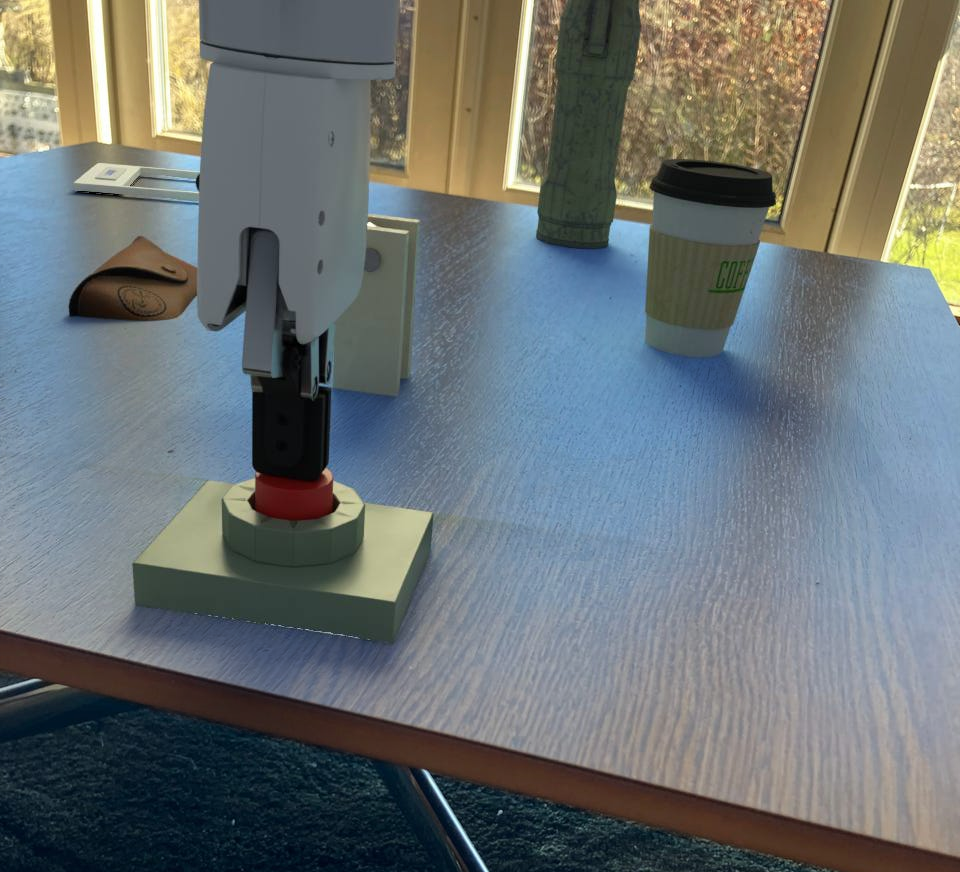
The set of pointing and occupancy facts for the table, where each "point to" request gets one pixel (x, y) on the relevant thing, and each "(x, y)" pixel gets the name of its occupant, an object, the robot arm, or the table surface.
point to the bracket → (380, 312)
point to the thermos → (588, 121)
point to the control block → (287, 563)
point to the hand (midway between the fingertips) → (290, 469)
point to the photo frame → (123, 176)
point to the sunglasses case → (136, 286)
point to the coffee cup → (701, 251)
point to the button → (294, 496)
